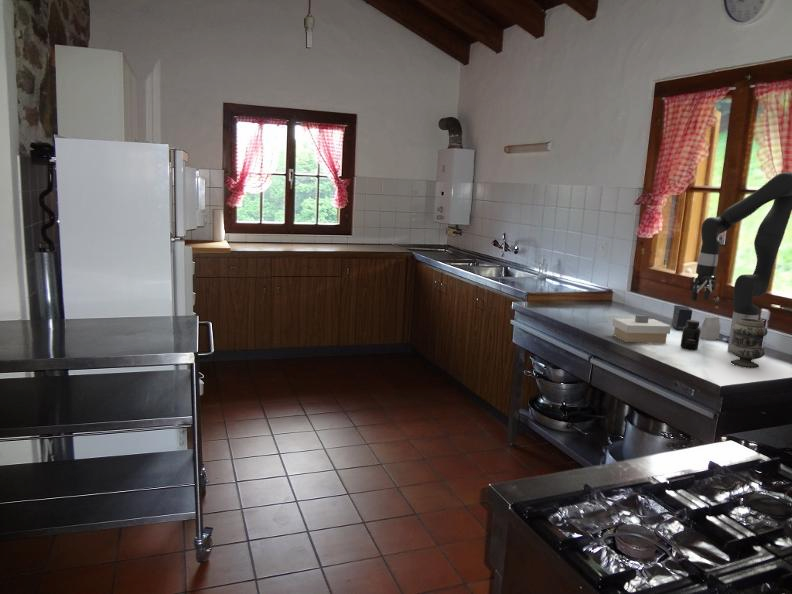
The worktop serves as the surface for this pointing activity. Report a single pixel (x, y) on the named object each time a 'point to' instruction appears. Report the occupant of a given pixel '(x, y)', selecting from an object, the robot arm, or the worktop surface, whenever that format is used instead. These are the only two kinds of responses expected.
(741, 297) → the robot arm
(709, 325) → the printed product carton
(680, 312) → the small box
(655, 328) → the mailer lid
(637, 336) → the box
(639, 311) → the worktop surface
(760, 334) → the apothecary jar
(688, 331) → the supplement bottle
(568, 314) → the worktop surface
